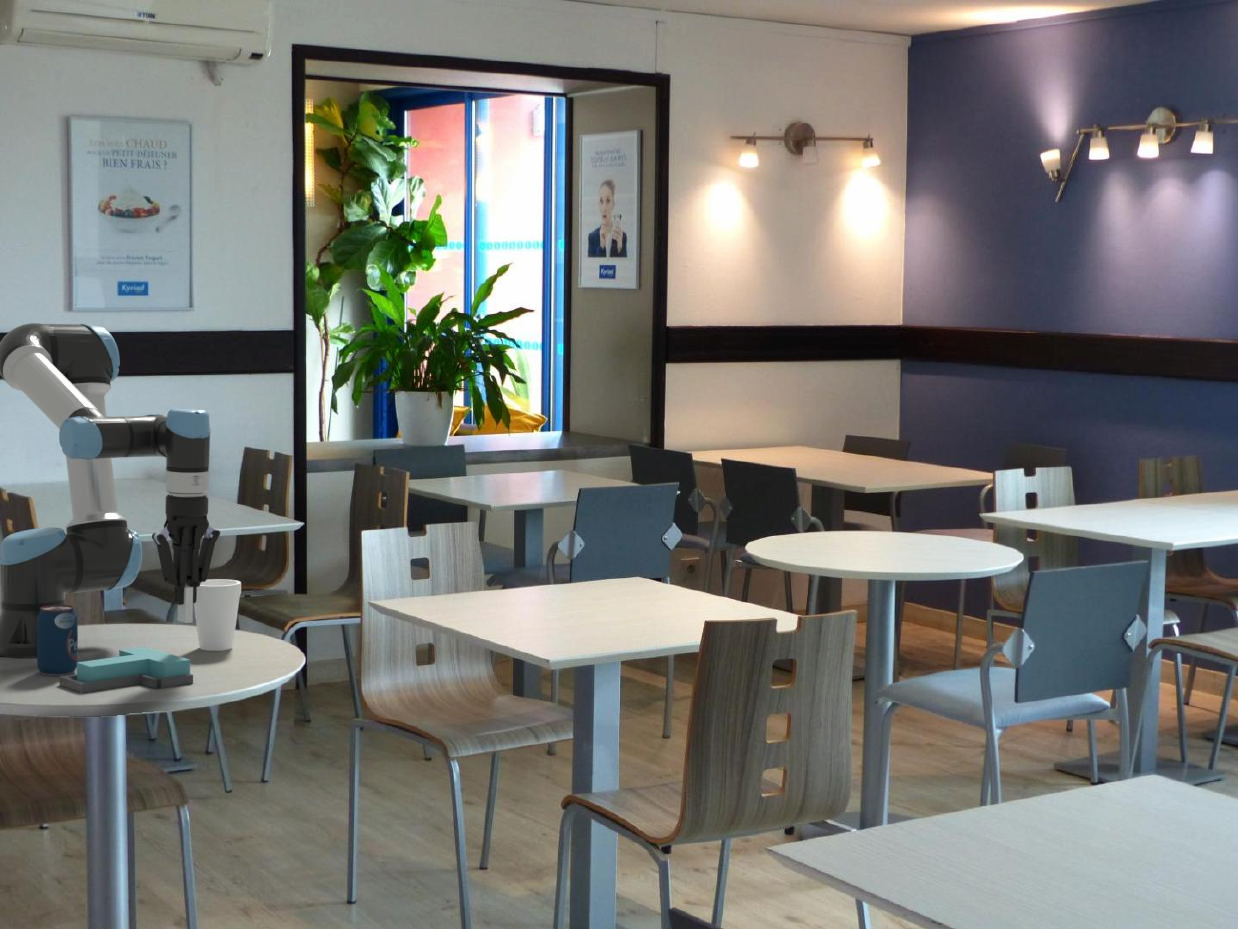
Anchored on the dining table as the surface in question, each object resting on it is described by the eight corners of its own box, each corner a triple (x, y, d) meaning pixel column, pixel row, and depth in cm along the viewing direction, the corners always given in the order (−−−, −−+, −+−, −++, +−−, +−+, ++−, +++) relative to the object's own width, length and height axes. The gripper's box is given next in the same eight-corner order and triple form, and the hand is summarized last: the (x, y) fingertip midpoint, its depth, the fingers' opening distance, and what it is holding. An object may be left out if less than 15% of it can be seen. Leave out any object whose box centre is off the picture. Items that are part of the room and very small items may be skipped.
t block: (144, 668, 286) (144, 646, 285) (190, 682, 275) (190, 659, 274) (62, 680, 274) (61, 657, 274) (106, 695, 263) (106, 672, 263)
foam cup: (247, 644, 310) (247, 580, 309) (231, 653, 301) (231, 587, 300) (201, 642, 311) (201, 578, 310) (184, 651, 302) (184, 585, 301)
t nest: (138, 666, 287) (138, 658, 286) (193, 683, 273) (193, 674, 273) (44, 680, 273) (44, 671, 273) (97, 698, 260) (97, 689, 260)
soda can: (79, 675, 278) (79, 609, 277) (38, 677, 275) (37, 611, 274) (76, 667, 284) (76, 603, 283) (36, 670, 282) (35, 605, 281)
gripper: (165, 498, 273) (163, 629, 276) (229, 494, 283) (227, 620, 285) (144, 493, 279) (142, 621, 281) (207, 489, 288) (205, 614, 290)
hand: (184, 621), depth 283 cm, fingers closed
